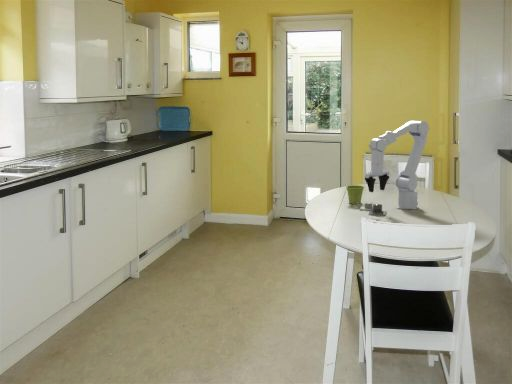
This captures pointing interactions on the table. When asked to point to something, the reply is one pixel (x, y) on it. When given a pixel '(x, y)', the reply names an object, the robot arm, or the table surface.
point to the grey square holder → (367, 206)
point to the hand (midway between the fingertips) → (376, 191)
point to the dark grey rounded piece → (377, 208)
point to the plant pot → (355, 193)
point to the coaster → (378, 213)
